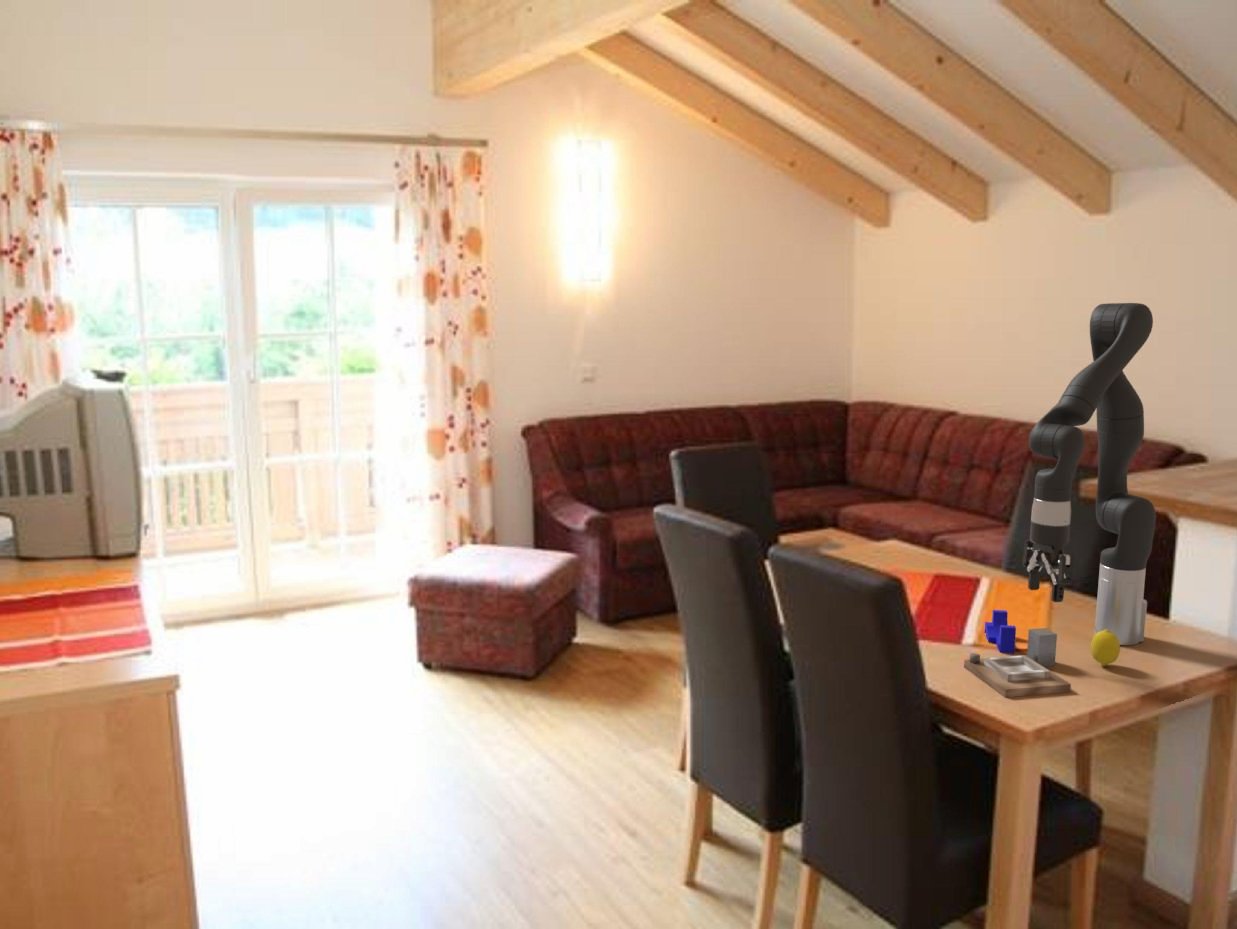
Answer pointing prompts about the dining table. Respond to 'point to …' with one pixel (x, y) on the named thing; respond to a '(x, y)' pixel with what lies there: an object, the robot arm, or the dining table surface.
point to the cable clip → (1001, 632)
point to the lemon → (1105, 647)
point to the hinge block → (1042, 646)
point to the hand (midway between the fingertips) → (1044, 595)
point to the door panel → (1016, 675)
